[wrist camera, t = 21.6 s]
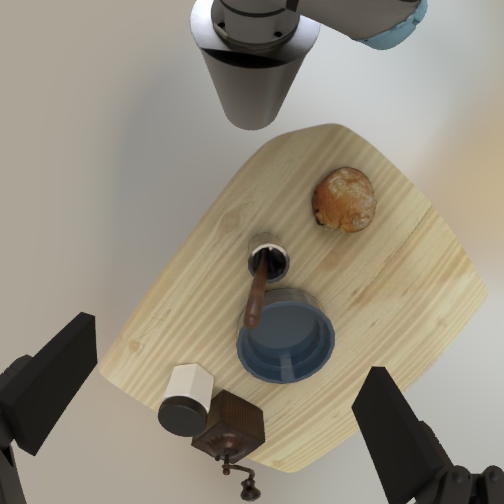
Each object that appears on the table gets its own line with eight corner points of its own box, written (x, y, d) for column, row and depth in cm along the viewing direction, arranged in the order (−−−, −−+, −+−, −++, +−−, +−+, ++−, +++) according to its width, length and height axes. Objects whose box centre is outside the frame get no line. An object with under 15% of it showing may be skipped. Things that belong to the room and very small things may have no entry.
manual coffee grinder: (193, 415, 55) (180, 481, 38) (223, 387, 53) (215, 458, 36) (250, 443, 58) (251, 506, 41) (282, 419, 56) (291, 485, 38)
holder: (251, 229, 46) (252, 239, 38) (286, 236, 46) (294, 248, 39) (244, 262, 47) (244, 278, 39) (278, 268, 48) (284, 286, 40)
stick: (261, 245, 46) (243, 317, 27) (271, 247, 46) (260, 320, 27) (259, 254, 47) (240, 330, 28) (269, 256, 46) (257, 334, 28)
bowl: (248, 278, 48) (247, 292, 42) (337, 295, 49) (347, 310, 43) (230, 356, 52) (229, 376, 46) (311, 368, 53) (317, 387, 47)
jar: (175, 356, 52) (160, 397, 40) (218, 368, 52) (211, 412, 41) (168, 388, 54) (154, 430, 42) (207, 400, 54) (200, 443, 43)
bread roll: (362, 216, 49) (396, 213, 42) (322, 247, 46) (357, 247, 39) (338, 165, 47) (371, 154, 40) (294, 190, 44) (326, 181, 36)
